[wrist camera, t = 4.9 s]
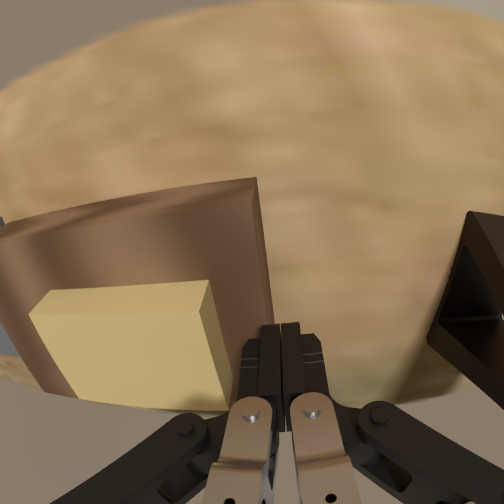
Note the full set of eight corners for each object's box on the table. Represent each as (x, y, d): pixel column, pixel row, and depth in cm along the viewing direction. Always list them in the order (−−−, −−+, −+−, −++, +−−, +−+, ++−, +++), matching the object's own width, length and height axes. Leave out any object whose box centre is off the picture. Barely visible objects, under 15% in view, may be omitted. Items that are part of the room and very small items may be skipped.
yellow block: (209, 279, 12) (198, 311, 10) (233, 377, 14) (228, 410, 13) (50, 290, 13) (28, 314, 11) (93, 372, 15) (79, 398, 13)
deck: (256, 177, 14) (251, 203, 11) (278, 357, 19) (278, 408, 15) (7, 223, 16) (-32, 250, 12) (67, 355, 21) (44, 392, 17)
